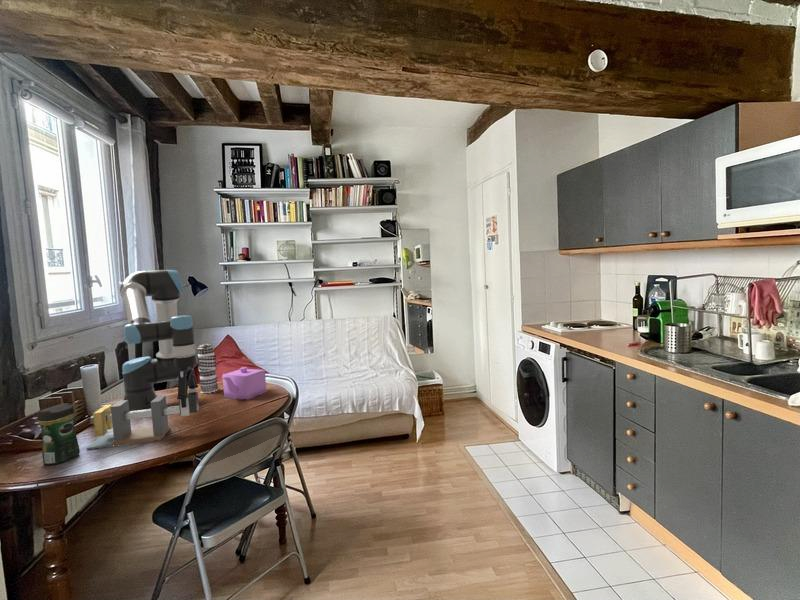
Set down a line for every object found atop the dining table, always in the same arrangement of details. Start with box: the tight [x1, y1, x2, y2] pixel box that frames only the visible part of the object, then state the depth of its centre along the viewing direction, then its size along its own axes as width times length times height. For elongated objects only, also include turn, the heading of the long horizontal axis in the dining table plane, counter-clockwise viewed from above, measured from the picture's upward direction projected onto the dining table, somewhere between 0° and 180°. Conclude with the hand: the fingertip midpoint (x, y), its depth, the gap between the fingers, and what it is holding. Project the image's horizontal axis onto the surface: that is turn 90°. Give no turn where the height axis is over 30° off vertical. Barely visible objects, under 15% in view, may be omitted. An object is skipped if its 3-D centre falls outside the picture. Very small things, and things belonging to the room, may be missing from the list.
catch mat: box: [86, 433, 116, 450], centre depth 157 cm, size 12×8×1 cm
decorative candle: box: [196, 343, 219, 394], centre depth 222 cm, size 9×9×25 cm
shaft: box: [89, 391, 200, 425], centre depth 160 cm, size 4×36×7 cm, turn 105°
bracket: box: [111, 395, 171, 447], centre depth 160 cm, size 12×16×14 cm
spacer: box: [92, 403, 114, 438], centre depth 157 cm, size 10×2×8 cm, turn 15°
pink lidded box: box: [222, 366, 268, 400], centre depth 210 cm, size 15×25×14 cm, turn 157°
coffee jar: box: [37, 402, 81, 465], centre depth 143 cm, size 10×8×19 cm
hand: (189, 410), depth 164 cm, fingers open, 13 cm apart
